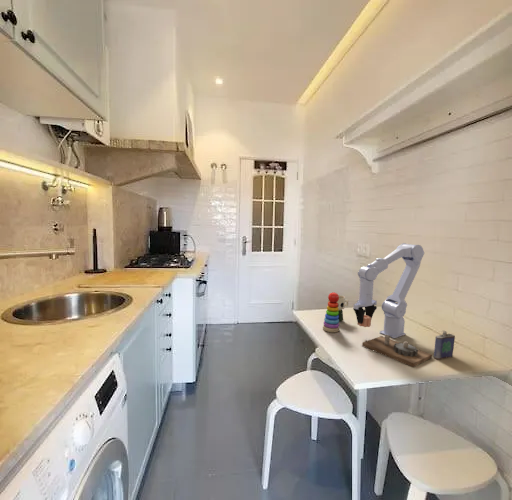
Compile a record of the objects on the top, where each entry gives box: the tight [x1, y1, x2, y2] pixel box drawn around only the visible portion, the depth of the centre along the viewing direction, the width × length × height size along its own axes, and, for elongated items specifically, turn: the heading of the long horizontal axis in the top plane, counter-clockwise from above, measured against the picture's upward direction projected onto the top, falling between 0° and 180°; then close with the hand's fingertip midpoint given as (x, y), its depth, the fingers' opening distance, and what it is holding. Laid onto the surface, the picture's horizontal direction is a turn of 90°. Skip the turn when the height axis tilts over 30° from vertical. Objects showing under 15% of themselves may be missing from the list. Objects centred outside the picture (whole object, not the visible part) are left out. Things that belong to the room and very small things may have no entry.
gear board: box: [361, 335, 433, 368], centre depth 124 cm, size 14×22×6 cm, turn 35°
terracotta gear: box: [357, 314, 372, 328], centre depth 139 cm, size 6×6×4 cm
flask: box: [433, 330, 456, 360], centre depth 120 cm, size 9×3×11 cm, turn 110°
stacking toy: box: [322, 292, 340, 333], centre depth 147 cm, size 8×8×19 cm
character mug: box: [327, 294, 349, 322], centre depth 161 cm, size 11×7×13 cm, turn 88°
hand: (364, 321), depth 139 cm, fingers closed on terracotta gear, 6 cm apart
